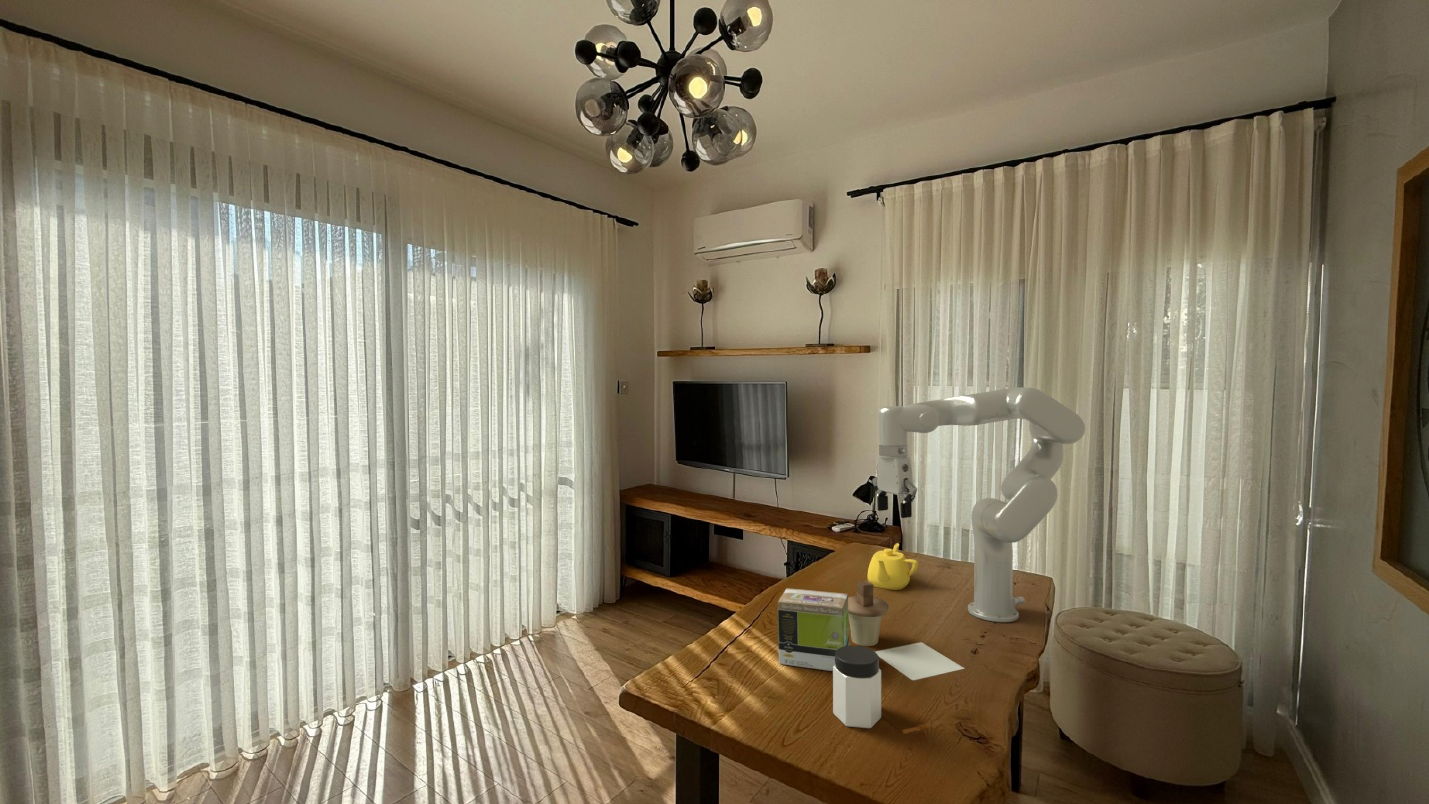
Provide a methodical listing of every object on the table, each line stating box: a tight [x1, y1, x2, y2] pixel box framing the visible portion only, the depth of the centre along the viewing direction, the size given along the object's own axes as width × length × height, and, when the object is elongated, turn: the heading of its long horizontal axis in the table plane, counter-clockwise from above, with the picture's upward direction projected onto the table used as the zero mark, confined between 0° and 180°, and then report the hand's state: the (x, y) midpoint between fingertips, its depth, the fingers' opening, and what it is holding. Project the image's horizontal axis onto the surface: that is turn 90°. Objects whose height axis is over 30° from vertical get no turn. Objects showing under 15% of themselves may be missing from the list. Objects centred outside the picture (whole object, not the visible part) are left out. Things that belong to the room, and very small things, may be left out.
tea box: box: [777, 587, 850, 672], centre depth 134 cm, size 15×10×15 cm, turn 71°
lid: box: [848, 580, 889, 617], centre depth 142 cm, size 11×11×6 cm
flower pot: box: [848, 613, 884, 647], centre depth 142 cm, size 9×9×9 cm
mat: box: [875, 641, 965, 681], centre depth 132 cm, size 14×14×1 cm
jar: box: [832, 644, 882, 729], centre depth 111 cm, size 9×8×12 cm
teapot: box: [867, 542, 919, 591], centre depth 184 cm, size 22×16×11 cm
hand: (894, 513), depth 159 cm, fingers open, 9 cm apart
